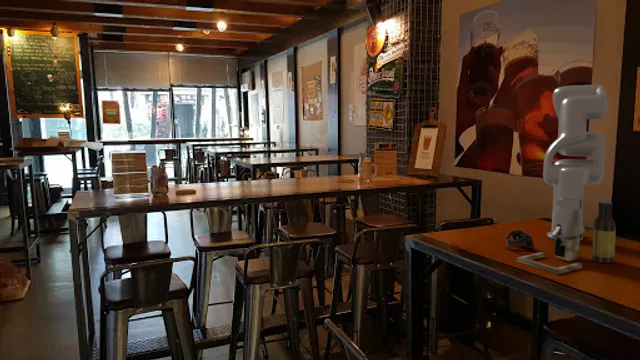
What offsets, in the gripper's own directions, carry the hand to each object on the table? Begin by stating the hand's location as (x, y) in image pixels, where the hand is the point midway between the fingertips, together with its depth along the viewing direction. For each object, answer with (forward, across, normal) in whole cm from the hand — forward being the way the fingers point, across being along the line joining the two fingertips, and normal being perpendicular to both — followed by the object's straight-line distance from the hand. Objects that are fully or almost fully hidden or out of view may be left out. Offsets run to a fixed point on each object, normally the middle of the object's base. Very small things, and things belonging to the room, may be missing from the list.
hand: (566, 254), depth 152 cm
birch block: (+1, 0, 0) cm, 1 cm away
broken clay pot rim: (+2, +4, -16) cm, 16 cm away
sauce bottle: (+1, -7, +8) cm, 11 cm away
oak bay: (+1, +12, +2) cm, 12 cm away
